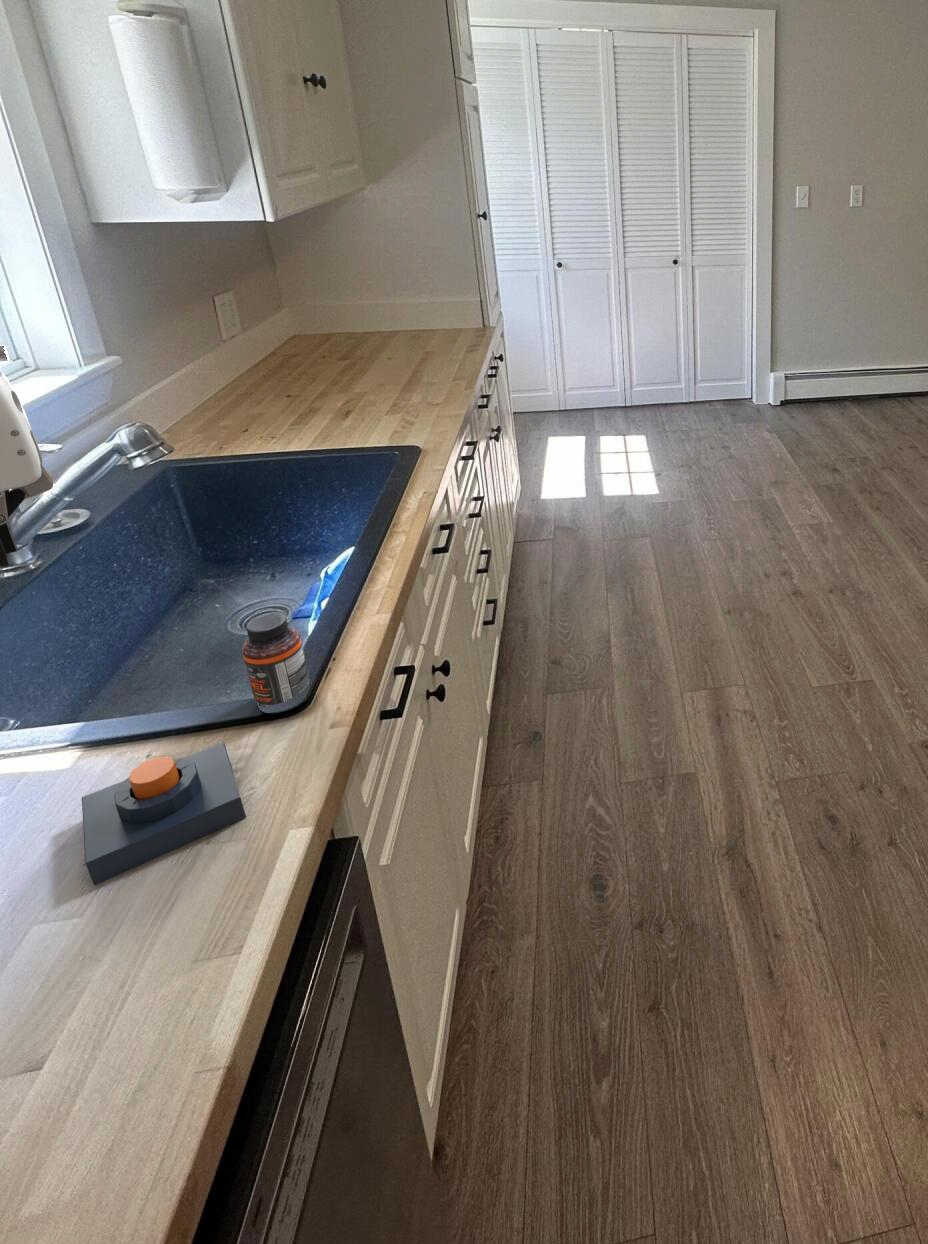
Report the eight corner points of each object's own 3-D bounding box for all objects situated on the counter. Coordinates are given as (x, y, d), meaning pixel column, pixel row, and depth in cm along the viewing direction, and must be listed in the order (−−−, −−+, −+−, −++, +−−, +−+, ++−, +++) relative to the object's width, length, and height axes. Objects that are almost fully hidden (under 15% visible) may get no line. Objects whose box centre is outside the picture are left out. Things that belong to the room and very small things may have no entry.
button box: (93, 886, 71) (79, 848, 70) (89, 817, 78) (75, 782, 77) (246, 818, 78) (236, 782, 77) (229, 761, 86) (219, 727, 84)
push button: (136, 806, 75) (130, 789, 74) (133, 784, 77) (127, 767, 76) (181, 788, 77) (176, 771, 76) (177, 766, 79) (172, 750, 79)
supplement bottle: (244, 709, 93) (222, 628, 89) (289, 680, 98) (270, 602, 94) (281, 723, 91) (260, 640, 87) (324, 692, 96) (306, 612, 92)
